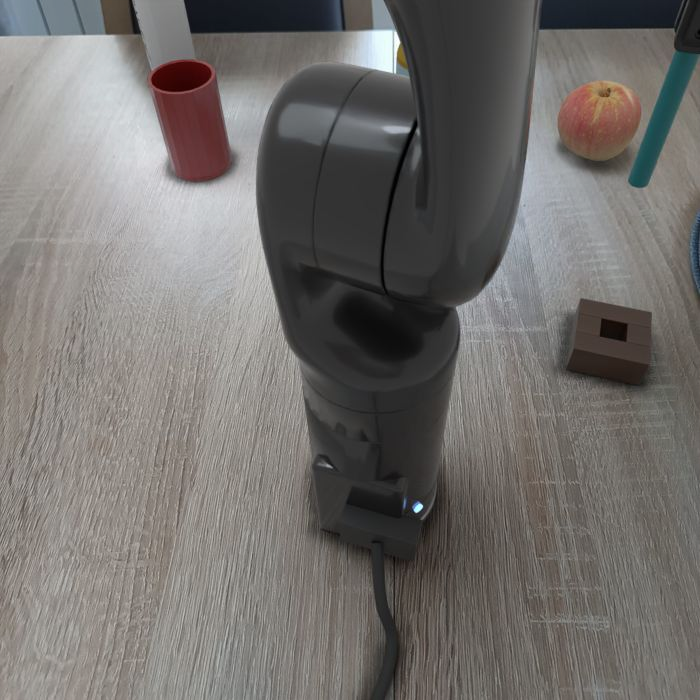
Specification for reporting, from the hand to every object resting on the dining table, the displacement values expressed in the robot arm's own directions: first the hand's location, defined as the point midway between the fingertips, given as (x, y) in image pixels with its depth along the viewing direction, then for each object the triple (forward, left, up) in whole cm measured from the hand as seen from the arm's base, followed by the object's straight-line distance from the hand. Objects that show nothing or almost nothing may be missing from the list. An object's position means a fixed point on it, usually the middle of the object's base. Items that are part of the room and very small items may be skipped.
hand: (691, 41), depth 39 cm
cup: (+15, +46, -28) cm, 55 cm away
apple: (+30, +2, -28) cm, 41 cm away
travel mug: (+32, +58, -28) cm, 71 cm away
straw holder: (-1, -2, -28) cm, 28 cm away
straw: (0, 0, -10) cm, 10 cm away
